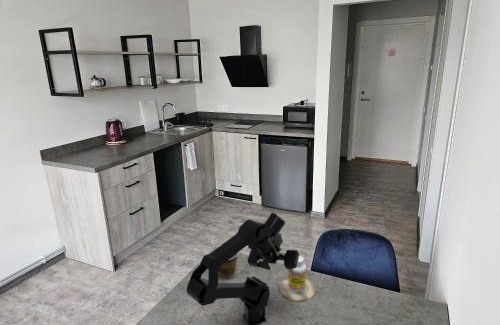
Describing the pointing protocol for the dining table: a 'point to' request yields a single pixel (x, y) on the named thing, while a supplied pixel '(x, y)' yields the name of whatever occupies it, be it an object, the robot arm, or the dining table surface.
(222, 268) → the ceramic cup
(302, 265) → the supplement bottle
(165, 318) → the dining table surface
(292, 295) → the round tan coaster
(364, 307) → the dining table surface
